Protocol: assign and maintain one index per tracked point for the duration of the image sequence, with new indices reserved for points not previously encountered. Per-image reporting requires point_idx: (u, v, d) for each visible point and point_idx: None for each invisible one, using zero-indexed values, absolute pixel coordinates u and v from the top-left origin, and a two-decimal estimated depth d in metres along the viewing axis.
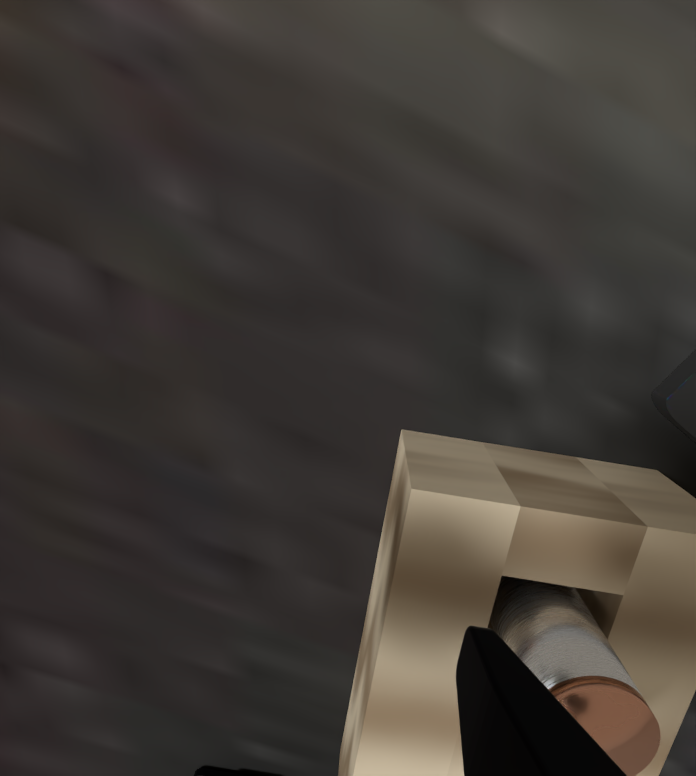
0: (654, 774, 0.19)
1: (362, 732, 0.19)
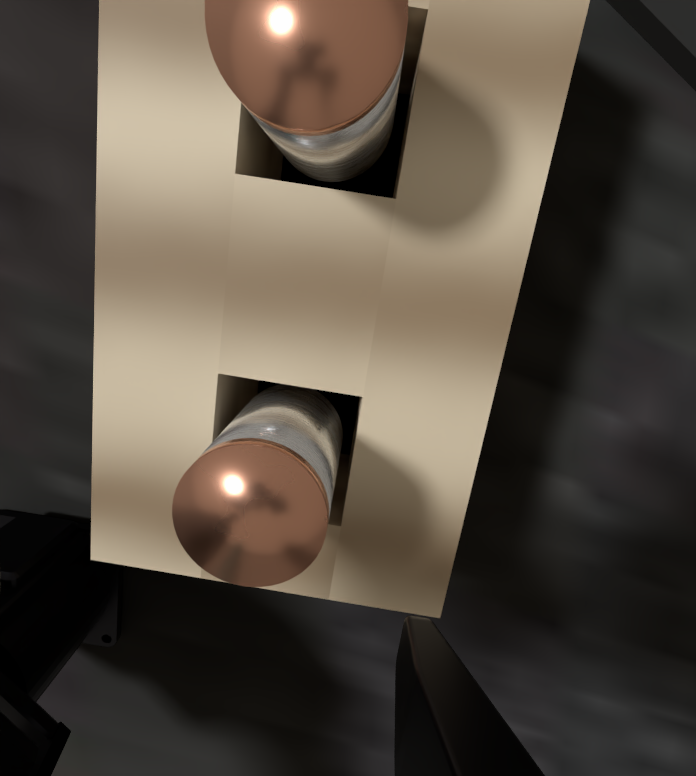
0: (499, 346, 0.14)
1: (96, 294, 0.14)
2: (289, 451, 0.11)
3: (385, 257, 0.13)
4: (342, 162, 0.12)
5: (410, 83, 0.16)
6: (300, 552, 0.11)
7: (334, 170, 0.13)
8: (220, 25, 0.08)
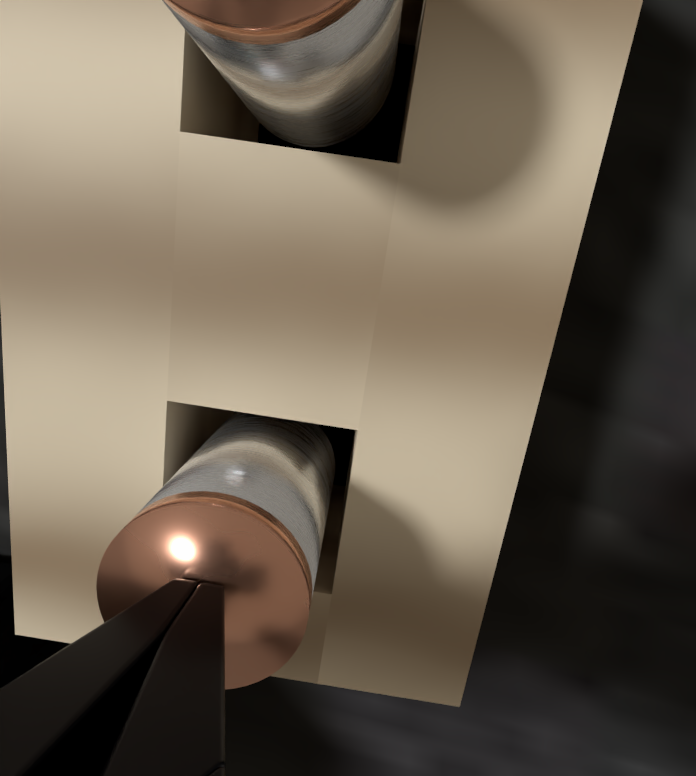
0: (540, 363, 0.10)
1: (3, 298, 0.10)
2: (255, 510, 0.08)
3: (386, 244, 0.10)
4: (324, 109, 0.08)
5: (416, 27, 0.13)
6: (272, 646, 0.08)
7: (315, 125, 0.09)
8: None
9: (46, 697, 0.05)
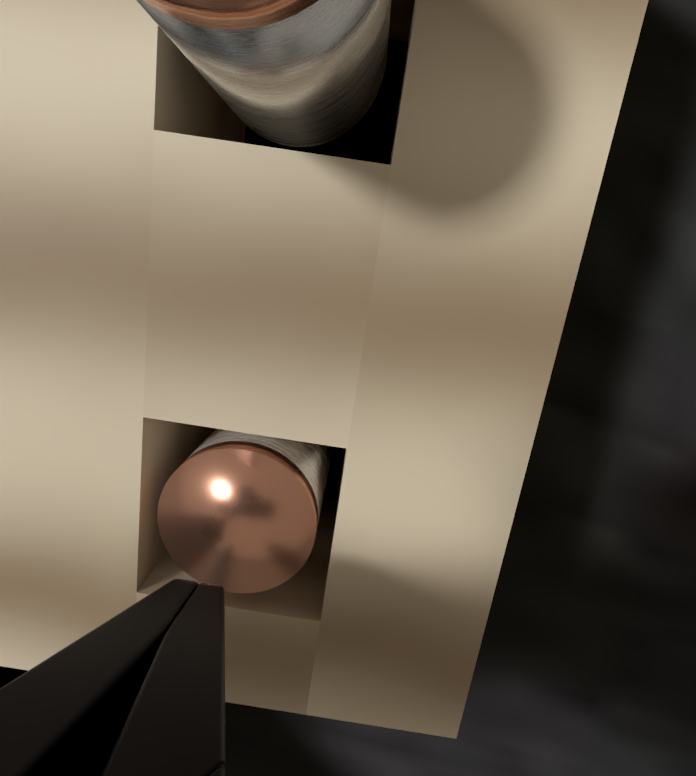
0: (541, 377, 0.09)
1: None
2: (276, 454, 0.10)
3: (376, 251, 0.09)
4: (308, 105, 0.08)
5: (409, 22, 0.12)
6: (289, 557, 0.11)
7: (299, 123, 0.09)
8: None
9: (46, 697, 0.05)
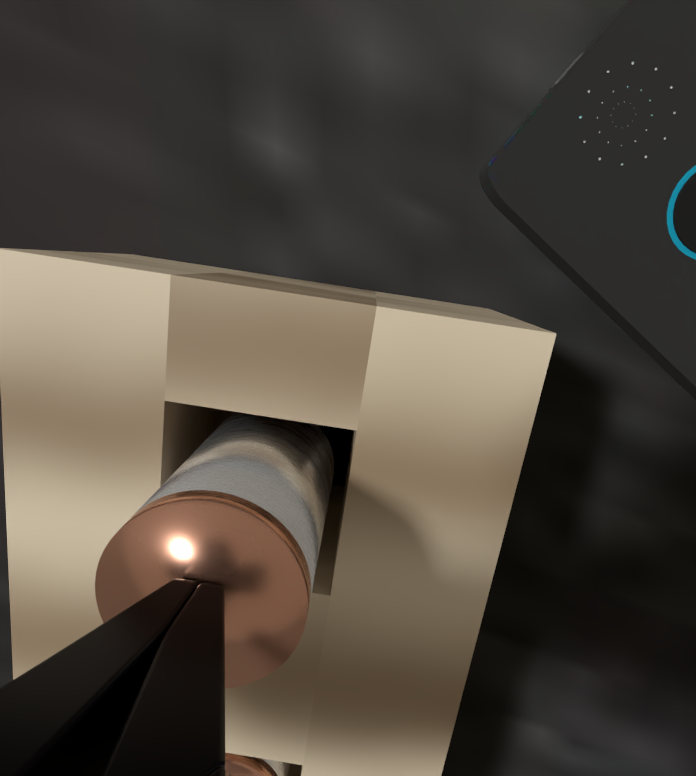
0: (447, 727, 0.13)
1: (15, 666, 0.13)
2: (250, 758, 0.14)
3: (321, 646, 0.12)
4: None
5: None
6: None
7: None
8: (113, 605, 0.08)
9: (46, 697, 0.05)
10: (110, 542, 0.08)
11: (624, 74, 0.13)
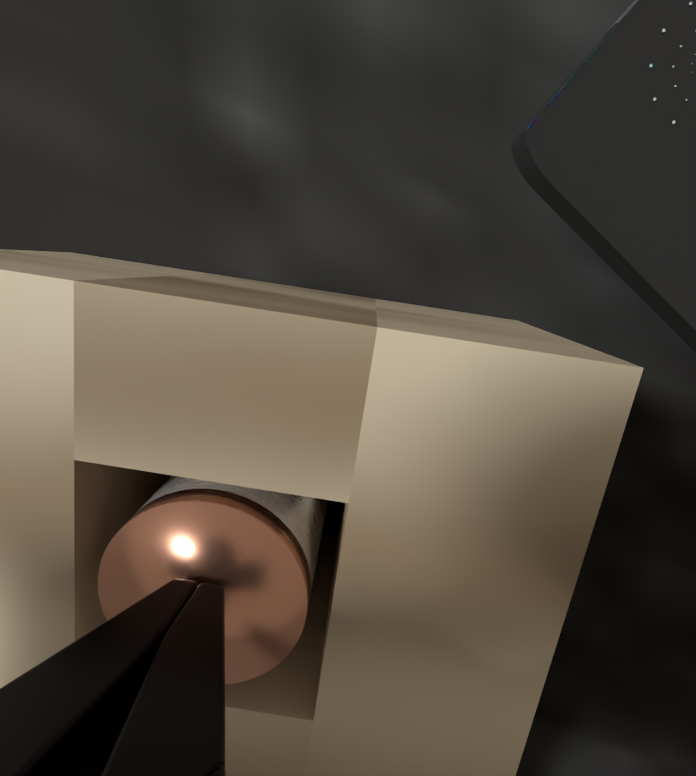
0: None
1: None
2: None
3: None
4: None
5: None
6: None
7: None
8: (115, 602, 0.08)
9: (46, 697, 0.05)
10: (113, 540, 0.08)
11: None
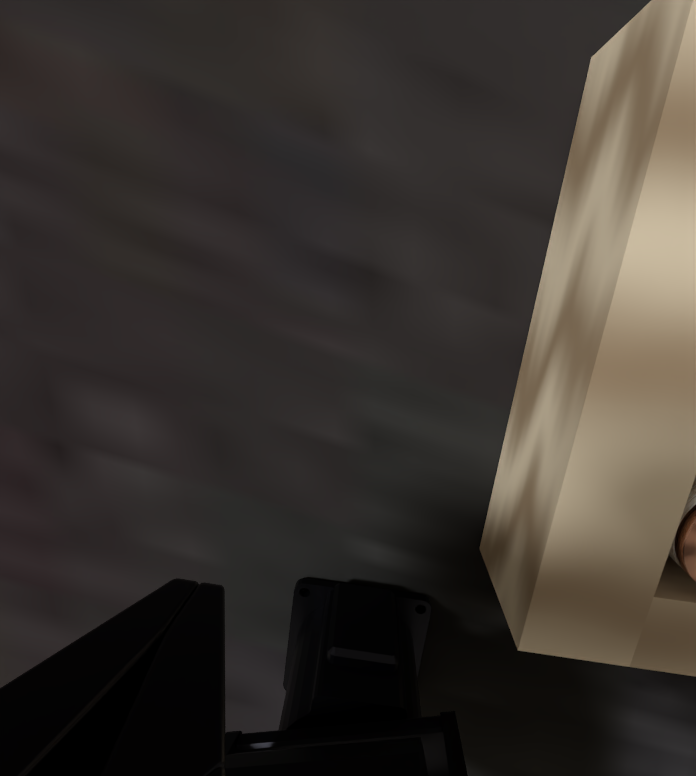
0: None
1: (585, 400, 0.14)
2: None
3: None
4: None
5: None
6: None
7: None
8: None
9: (46, 698, 0.05)
10: None
11: None
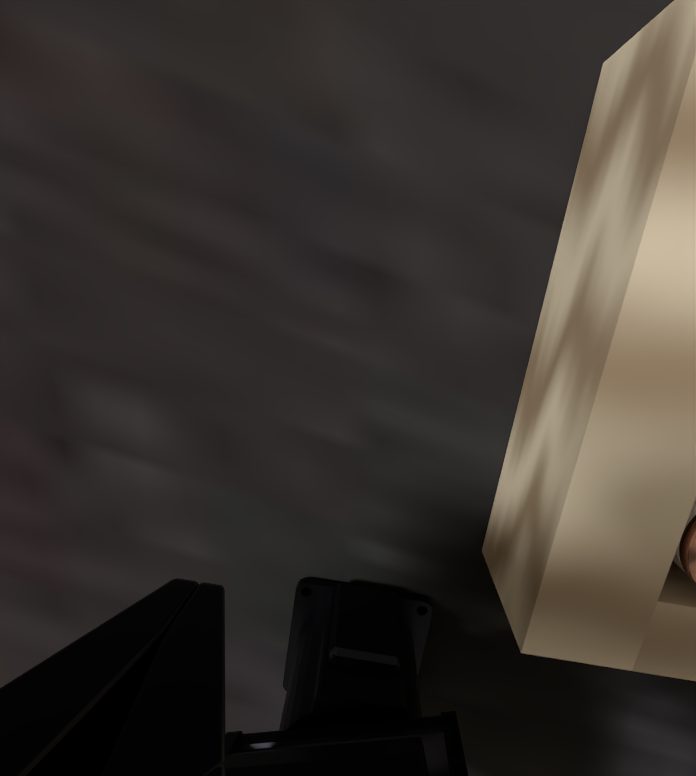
0: None
1: (594, 403, 0.14)
2: None
3: None
4: None
5: None
6: None
7: None
8: None
9: (46, 697, 0.05)
10: None
11: None
